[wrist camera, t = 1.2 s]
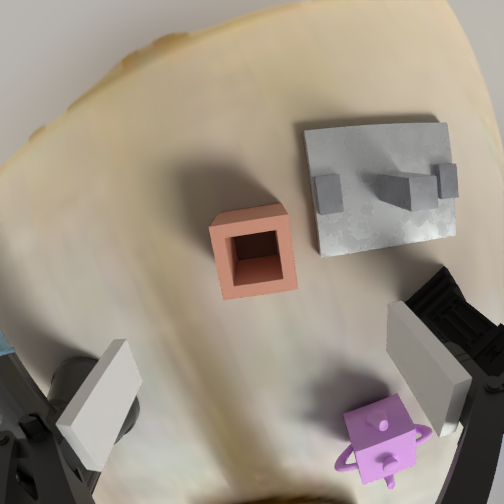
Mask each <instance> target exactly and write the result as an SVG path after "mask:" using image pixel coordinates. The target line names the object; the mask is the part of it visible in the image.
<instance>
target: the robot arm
mask: <svg viewBox="0 0 504 504" xmlns="http://www.w3.org/2000/svg"><path fill="white" fill-rule="evenodd" d="M386 350H387V352H388V354H389V355H390V357H391V358H392V360H393V362H394V363H395V365H396V366H397V368H398V370H399V371H400V373H401V374H402V376H403V378H404V379H405V381H406V383H407V384H408V386H409V387H410V389H411V391H412V392H413V394H414V396H415V397H416V399H417V401H418V402H419V404H420V406H421V407H422V409H423V411H424V412H425V414H426V416H427V418H428V419H429V421H430V423H431V424H432V426H433V428H434V430H435V431H436V433H437V435H438V437H439V438H440V437H443V436H445V435H448V434H450V433H453V432H455V431H456V429H457V426H458V423H459V421H460V423H461V424H462V426H463V427H464V428H463V431H462V433H461V436H460V438H459V441H458V444H457V445H458V446H457V449H456V452H455V455H454V458H453V461H452V464H451V466H450V469H449V472H448V474H447V477H446V479H445V482H444V484H443V487H442V489H441V492H440V494H439V496H438V499H437V501H436V503H435V504H487V500H488V497H489V493H490V490H491V486H492V483H493V479H494V475H495V471H496V467H497V462H498V458H499V453H500V449H501V443H502V438H503V434H504V379H502V378H500V377H497V376H487V374H486V373H485V372H484V371H483V370H482V369H481V368H480V367H479V366H478V365H477V364H476V363H475V362H474V360H473V359H471V357H470V356H469V355H468V354H466V352H465V351H464V350H463V349H462V348H461V347H460V346H459V345H457V344H455V343H453V342H451V341H450V342H447V343H443V344H442V343H441V342H440V341H439V340H438V339H437V337H436V336H435V335H434V334H433V333H432V332H431V331H430V330H429V329H428V328H427V327H426V326H425V324H424V323H423V322H422V321H421V320H420V319H419V318H418V317H417V316H416V315H415V314H414V313H413V312H412V311H411V310H410V309H409V308H408V307H407V306H406V304H405V303H404V302H403V301H397V302H393V303H388V322H387V346H386ZM15 351H16V350H15V348H14V347H11V345H10V344H9V342H8V341H7V339H6V337H5V336H4V334H3V333H2V331H1V329H0V504H95V502H94V500H93V498H92V494H93V492H94V489H95V487H96V484H97V482H98V479H99V477H100V474H101V472H102V470H103V468H104V466H105V463H106V461H107V459H108V456H109V454H110V452H111V450H112V447H113V445H115V444H116V443H117V442H118V441H119V440H120V439H121V438H122V437H123V435H125V434H126V433H128V432H129V431H130V430H131V429H132V428H133V427H134V425H135V423H136V420H137V418H138V415H139V411H140V407H139V402H138V399H137V396H136V394H137V392H138V390H139V388H140V386H141V384H142V382H143V381H142V378H141V376H140V373H139V371H138V368H137V366H136V363H135V361H134V358H133V355H132V353H131V350H130V347H129V344H128V342H127V339H116V340H113V342H112V343H111V344H110V346H109V347H108V349H107V350H106V351H105V353H104V354H103V355H102V357H101V358H100V360H99V361H96V360H94V359H90V358H86V357H72V358H69V359H66V360H65V361H63V362H62V363H61V365H60V366H59V367H58V368H57V369H56V371H55V372H54V374H53V377H52V381H51V387H50V390H49V393H48V396H47V398H46V397H45V395H44V394H43V393H42V391H41V390H40V389H39V387H38V386H37V384H36V383H35V382H34V380H33V379H32V377H31V376H30V374H29V373H28V371H27V370H26V368H25V367H24V365H23V364H22V362H21V361H20V359H19V358H18V356H17V354H16V353H15Z"/></svg>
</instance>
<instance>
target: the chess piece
mask: <svg viewBox="0 0 504 504" xmlns="http://www.w3.org/2000/svg"><path fill="white" fill-rule="evenodd" d="M405 304H406V306H407V307H408V308H409V309H410V310H411V311H412V312H413V313H414V314H415V315H416V316H417V317H418V318H419V319H420V320H421V321H422V322H423V323H424V324H425V326H426V327H427V328H428V329H429V330H430V331H431V332H432V333H433V334H434V335H435V336H436V337H437V339H438V340H439V341H440V342H441V343H442V344H443V343H447V342H450V341H451V342H453V343H455V344H457V345H459V346H460V347H461V348H462V349H463V350H464V351H465V352H466V354H468V355H469V356H470V357H471V359H473V360H474V362H475V363H476V364H477V365H478V366H479V367H480V368H481V369H482V370H483V371H484V372H485V373H486V374H487V376H497V377H500V378H502V379H504V325H503V324H501V323H500V324H499V326H498V327H497V326H496V325H495V324H494V323H492V322H491V321H490V320H489V319H488V318H486V317H485V316H484V315H483V314H481V313H480V312H479V311H478V310H476V309H475V308H474V307H472V306H471V305H470V304H469V303H467V302H466V300H465V298H464V296H463V294H462V292H461V290H460V288H459V286H458V285H457V284H456V282H455V280H454V278H453V277H452V276H451V274H450V272H449V271H448V269H447V268H446V267H445V266H444V267H443V268H442V269H441V270H440V271H439V272H438V273H437V274H436V275H435V276H434V277H433V278H431V279H430V280H429V281H428V282H427V283H426V284H425V285H424V286H423V287H422V288H421V289H420V290H418V291H417V292H416V293H415V294H414V295H413V296H412V297H411V298H410V299H408V300H407V301H406V302H405Z"/></svg>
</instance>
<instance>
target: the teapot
mask: <svg viewBox="0 0 504 504" xmlns="http://www.w3.org/2000/svg"><path fill="white" fill-rule="evenodd" d="M343 416H344V419H345V423H346V426H347V430H348V434H349V437H350V441H351V444H350V445H349V446H348V447H347V448H346V450H345V451H344V452H343V453H342V454H341V455H340V456H339V458H338V459H337V461H336V463H335V469H336V471H339V472H346V471H352V470H356V469H359V472H360V476H361V479H362V483H363V484H367V483H369V482H372V481H375V480H378V479H381V478H384V479H385V481H386V483H387V486H388V488H389V489H393V488H394V486H395V482H394V473H397V472H399V471H402V470H404V469H407V468H409V467H411V466H414V465H416V446H418V445H420V444H422V443H424V442H425V441H427V440H428V439H429V438H430V437H431V436H432V433H433V431H432V429H431V428H430V427H427V426H425V425H420V424H413V422H412V420H411V418H410V416H409V414H408V412H407V410H406V408H405V406H404V405H403V403H402V401H401V399H400V397H399V395H398V393H397V394H394V395H392V396H390V397H387V398H384V399H382V400H380V401H377V402H374V403H372V404H369V405H366V406H364V407H361V408H358V409H355V410H352V411H350V412H347V413H344V414H343ZM416 432H417V433H420V434H421V435H422V436H421V437H419V438H418V439H416ZM352 451H354V455H355V458H356V463H352V464H345V463H346V461H347V459H348V457H349V455H350V454H351V453H352Z"/></svg>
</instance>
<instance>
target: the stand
mask: <svg viewBox="0 0 504 504" xmlns="http://www.w3.org/2000/svg"><path fill="white" fill-rule="evenodd" d="M302 134H303V140H304V146H305V152H306V159H307V165H308V172H309V179H310V186H311V193H312V200H313V208H314V216H315V224H316V232H317V241H318V250H319V255H320V257H321V258H324V257H331V256H337V255H343V254H349V253H355V252H361V251H367V250H373V249H379V248H385V247H391V246H397V245H403V244H409V243H415V242H421V241H426V240H432V239H438V238H444V237H449V236H455V235H456V225H455V198H456V197H459V196H458V179H457V167H456V164H452V157H451V148H450V140H449V132H448V125H447V123H394V124H374V125H359V126H346V127H335V128H324V129H315V130H306V131H303V132H302Z"/></svg>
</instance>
